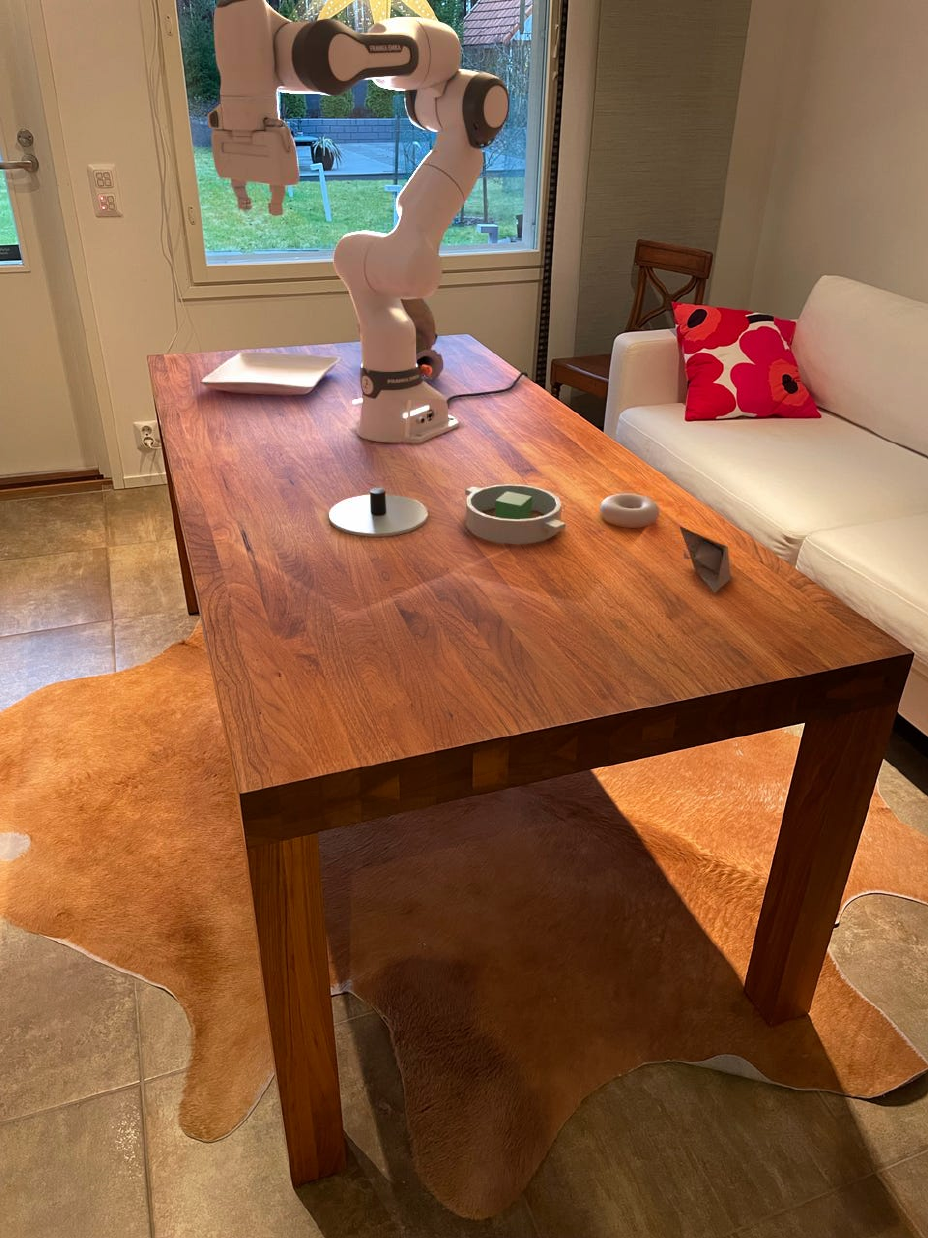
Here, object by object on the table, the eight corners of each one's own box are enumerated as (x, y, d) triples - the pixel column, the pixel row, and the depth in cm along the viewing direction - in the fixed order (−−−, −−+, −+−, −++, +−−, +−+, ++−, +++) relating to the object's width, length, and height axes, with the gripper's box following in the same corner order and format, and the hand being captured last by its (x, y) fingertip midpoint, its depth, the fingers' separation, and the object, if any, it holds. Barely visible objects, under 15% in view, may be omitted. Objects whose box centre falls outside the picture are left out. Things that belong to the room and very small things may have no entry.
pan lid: (386, 492, 166) (385, 465, 163) (448, 521, 155) (448, 492, 153) (309, 517, 156) (307, 488, 153) (369, 549, 145) (368, 519, 143)
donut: (653, 536, 152) (662, 512, 160) (655, 517, 150) (664, 494, 158) (593, 527, 154) (605, 504, 162) (594, 508, 153) (607, 486, 161)
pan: (501, 496, 165) (502, 472, 163) (591, 533, 152) (593, 508, 150) (436, 519, 156) (436, 495, 154) (525, 561, 143) (526, 534, 140)
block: (506, 516, 156) (506, 491, 154) (530, 521, 154) (532, 496, 152) (494, 526, 153) (495, 500, 150) (519, 531, 151) (520, 505, 149)
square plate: (240, 365, 240) (238, 350, 238) (342, 370, 236) (342, 355, 235) (200, 394, 216) (198, 378, 214) (313, 401, 213) (312, 384, 211)
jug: (358, 355, 250) (394, 404, 229) (343, 285, 236) (380, 331, 215) (427, 335, 254) (468, 381, 233) (417, 265, 241) (460, 308, 220)
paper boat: (757, 578, 136) (719, 579, 130) (726, 602, 140) (689, 604, 135) (718, 513, 141) (680, 512, 135) (690, 538, 145) (652, 538, 139)
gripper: (305, 118, 141) (312, 216, 148) (235, 114, 153) (244, 205, 160) (269, 119, 137) (278, 220, 144) (201, 115, 150) (212, 207, 157)
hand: (260, 212), depth 152 cm, fingers open, 8 cm apart
